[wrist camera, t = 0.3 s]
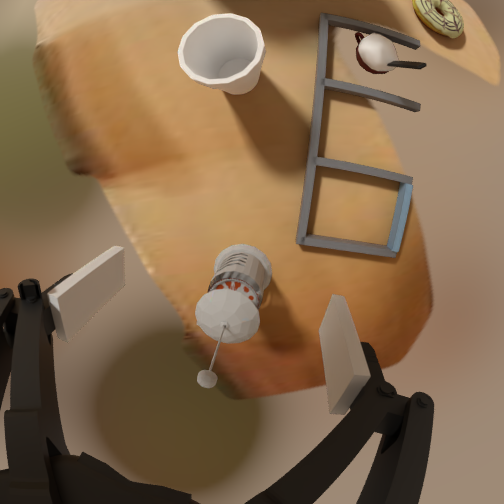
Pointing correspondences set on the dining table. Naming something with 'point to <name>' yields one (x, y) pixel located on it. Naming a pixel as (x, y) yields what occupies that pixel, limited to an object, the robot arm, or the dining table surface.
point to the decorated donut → (440, 16)
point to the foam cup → (223, 53)
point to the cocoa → (380, 55)
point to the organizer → (313, 160)
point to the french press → (233, 299)
